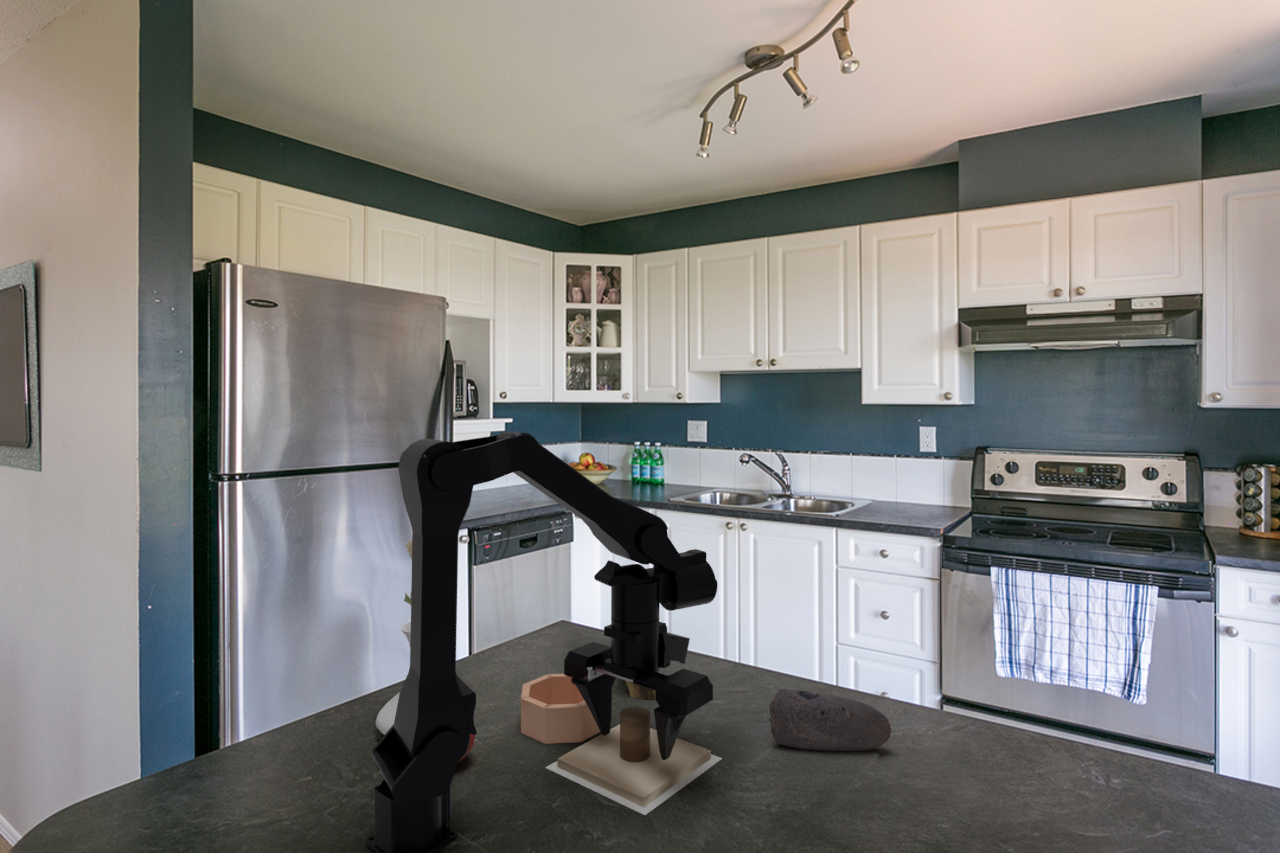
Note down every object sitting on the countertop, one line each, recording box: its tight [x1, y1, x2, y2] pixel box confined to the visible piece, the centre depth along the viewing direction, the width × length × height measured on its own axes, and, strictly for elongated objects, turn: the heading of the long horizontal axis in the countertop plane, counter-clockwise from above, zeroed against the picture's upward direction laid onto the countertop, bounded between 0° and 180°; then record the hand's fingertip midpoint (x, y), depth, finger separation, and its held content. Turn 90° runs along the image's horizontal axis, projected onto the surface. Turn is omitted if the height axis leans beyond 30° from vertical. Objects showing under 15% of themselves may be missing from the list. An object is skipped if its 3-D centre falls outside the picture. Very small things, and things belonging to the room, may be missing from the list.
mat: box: [544, 753, 723, 816], centre depth 84 cm, size 15×15×1 cm
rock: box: [623, 680, 656, 701], centre depth 107 cm, size 11×9×10 cm
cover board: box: [557, 706, 712, 807], centre depth 84 cm, size 13×13×6 cm
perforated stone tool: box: [768, 688, 892, 752], centre depth 89 cm, size 15×5×7 cm, turn 80°
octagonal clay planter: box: [520, 673, 601, 745], centre depth 94 cm, size 11×11×5 cm
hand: (634, 746), depth 84 cm, fingers open, 9 cm apart
